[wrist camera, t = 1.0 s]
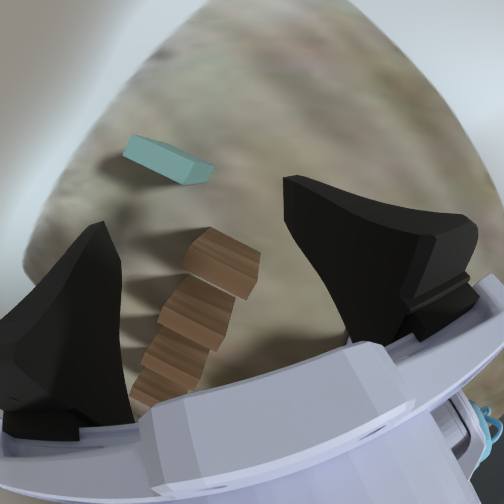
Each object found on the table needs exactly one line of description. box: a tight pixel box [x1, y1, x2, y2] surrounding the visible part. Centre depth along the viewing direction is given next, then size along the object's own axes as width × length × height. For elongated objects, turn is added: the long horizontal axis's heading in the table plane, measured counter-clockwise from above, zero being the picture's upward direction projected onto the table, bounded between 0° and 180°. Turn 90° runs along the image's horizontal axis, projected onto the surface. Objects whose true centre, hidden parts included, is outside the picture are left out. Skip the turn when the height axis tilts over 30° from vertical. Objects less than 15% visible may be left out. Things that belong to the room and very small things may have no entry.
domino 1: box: [180, 227, 260, 300], centre depth 22 cm, size 2×5×7 cm, turn 62°
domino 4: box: [129, 366, 189, 408], centre depth 26 cm, size 2×5×7 cm, turn 62°
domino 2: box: [157, 274, 235, 352], centre depth 23 cm, size 2×5×7 cm, turn 63°
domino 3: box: [141, 325, 210, 390], centre depth 25 cm, size 2×5×7 cm, turn 63°
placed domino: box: [122, 134, 215, 185], centre depth 20 cm, size 2×5×7 cm, turn 62°
